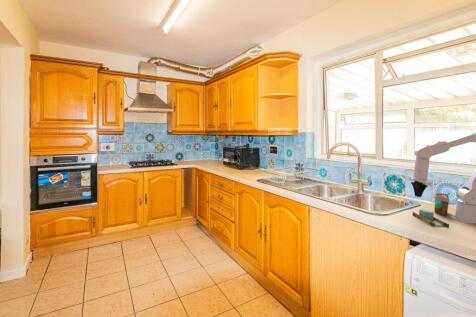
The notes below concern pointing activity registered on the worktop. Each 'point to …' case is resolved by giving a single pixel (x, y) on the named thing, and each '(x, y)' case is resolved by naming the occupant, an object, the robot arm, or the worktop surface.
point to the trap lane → (432, 221)
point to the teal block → (426, 214)
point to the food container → (441, 203)
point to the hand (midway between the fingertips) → (417, 196)
